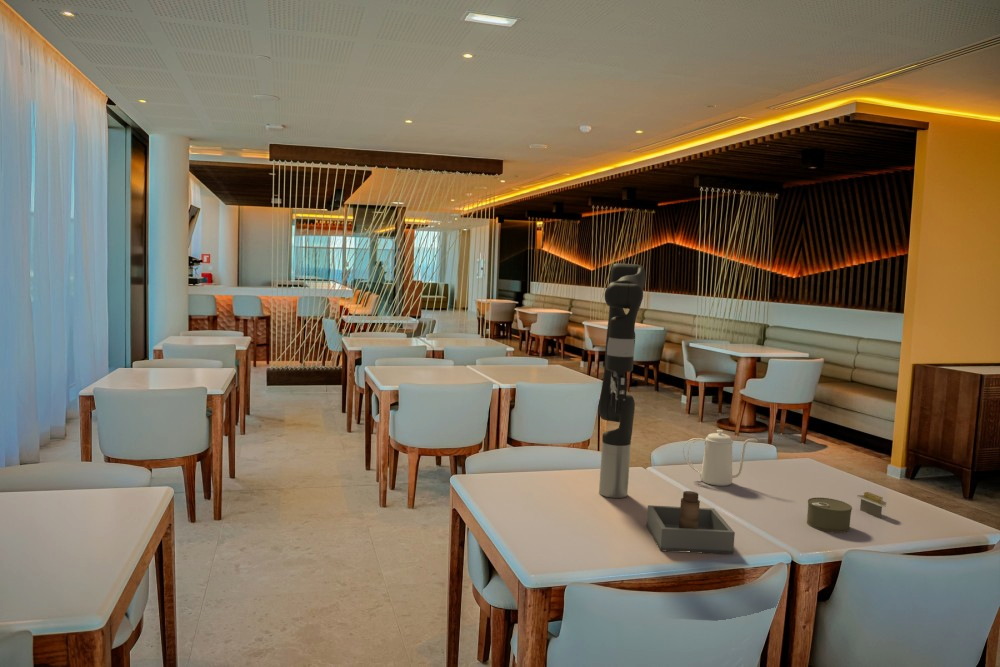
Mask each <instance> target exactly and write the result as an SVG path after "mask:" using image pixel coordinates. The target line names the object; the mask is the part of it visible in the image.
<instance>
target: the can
mask: <svg viewBox="0 0 1000 667" xmlns="http://www.w3.org/2000/svg"><path fill="white" fill-rule="evenodd" d="M852 510H853V507H852V505H851V504H849V503H847V502H845V501H841V500H838V499H834V498H829V497H811V498H809V499H807V515H806V516H807V518H806V524H807V525H808V526H809V527H811V528H813V529H815V530H818V531H821V532H825V533H831V532H833V533H832V534H845V533H847V531H848V532H849V531H850V525H851V515H852ZM844 532H845V533H844Z"/></svg>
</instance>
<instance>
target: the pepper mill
mask: <svg viewBox="0 0 1000 667" xmlns="http://www.w3.org/2000/svg"><path fill="white" fill-rule="evenodd" d="M682 494H683V495H682V498H681V499H680V506H679V507H680V519H679V528H687V529H698V519H699V508H700V506H701V505H700V504H701V503H700V502H701V501H700V500H699V493H698V492H696V491H693V490H691V491H690V490H685V491H683V493H682Z"/></svg>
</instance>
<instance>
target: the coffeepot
mask: <svg viewBox="0 0 1000 667" xmlns="http://www.w3.org/2000/svg"><path fill="white" fill-rule="evenodd" d="M723 432H724V430H723V429H716V432H713V433H712V432H711V433H709V434H707V436H706V437H705V439H704V438H701V437H695V438H690V439H689V440H687V441H686V442H685V443H684V446H683V450H682V453H683V457H684V460H685V462H686V463H687V465H688V466H689V467H690V468H691V469H692V470H694V471H695V472H697V473H699V476H700V480H701V481H702V483H705V484H708V485H711V486H718V487H719V486H720V487H725V486H730V485H731V484H732V483H733V479H735V478H739V476H740V475H741V474H742V470H743V465H744V458H745V452H746V451H745V450H746V446H747V444H748V443H749V442H759V441H758V439H756V438H748V439H746V440H745V441H744V442H743V445H742V451H741V457H740V462H739V467H738V472H737V473H736V474H735V475H734V474H733V444H734V441H733V440H732V437H731V436H730V435H729V434H725V433H723ZM693 440H694V441H693ZM690 441H693V442H691V444H690V446H689V447H688V450H687V458H686V455H685V446H686V444H688V443H689V442H690ZM698 441H702V442H703V441H704V451H703V452H704V453H703V458H702V465H701V470H700V471H699V469H697V468H695V466H694V465H693V464H692V461H691V460H690V449H691V446H692V445H693V444H694V443H695V442H698ZM687 459H688V460H687Z"/></svg>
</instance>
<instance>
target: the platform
mask: <svg viewBox="0 0 1000 667" xmlns="http://www.w3.org/2000/svg"><path fill="white" fill-rule="evenodd" d="M856 498H857V499H860V505H859V508H860V509H859V511H861V512H864V513H866V514H868V515H870V516H873V517H875V518H878V519H882V508H884V507H886V506H887V502H886V501H883V499H884V497H883V496H881V495H878V494H876V493H871V492H869V491H865V492H863V495H861V494H860V495H858V494H857V495H856Z"/></svg>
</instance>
